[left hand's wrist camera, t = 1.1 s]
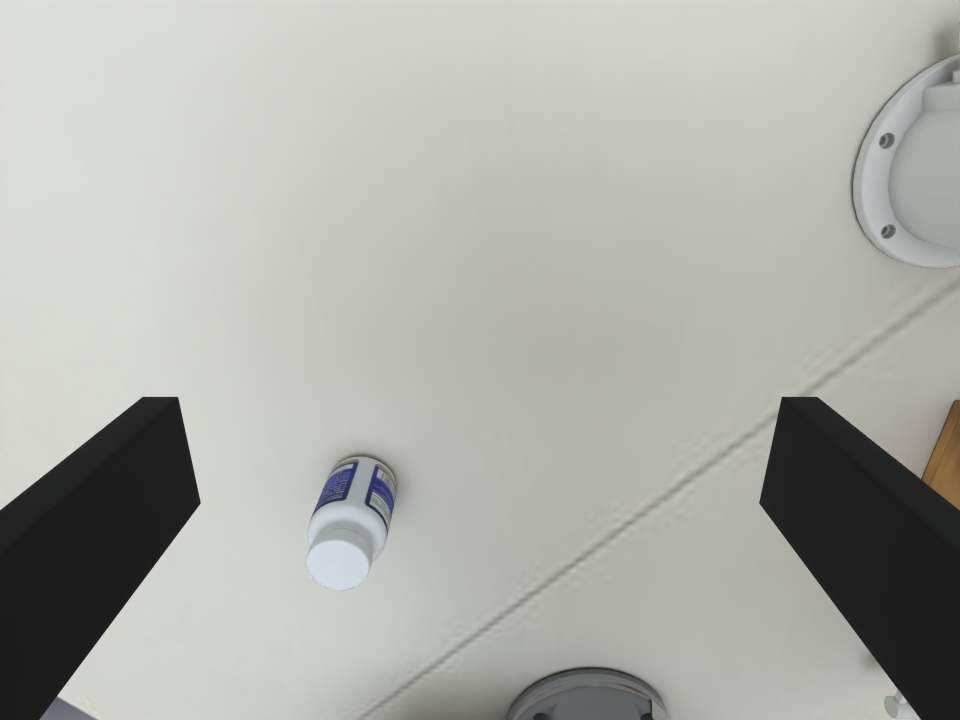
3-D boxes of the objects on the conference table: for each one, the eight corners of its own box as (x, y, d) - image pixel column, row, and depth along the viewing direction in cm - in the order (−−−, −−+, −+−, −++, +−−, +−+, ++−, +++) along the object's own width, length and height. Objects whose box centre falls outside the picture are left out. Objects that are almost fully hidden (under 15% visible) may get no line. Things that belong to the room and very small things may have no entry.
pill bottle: (325, 506, 45) (290, 591, 37) (332, 449, 43) (297, 525, 35) (392, 517, 46) (373, 604, 37) (402, 461, 44) (384, 539, 35)
